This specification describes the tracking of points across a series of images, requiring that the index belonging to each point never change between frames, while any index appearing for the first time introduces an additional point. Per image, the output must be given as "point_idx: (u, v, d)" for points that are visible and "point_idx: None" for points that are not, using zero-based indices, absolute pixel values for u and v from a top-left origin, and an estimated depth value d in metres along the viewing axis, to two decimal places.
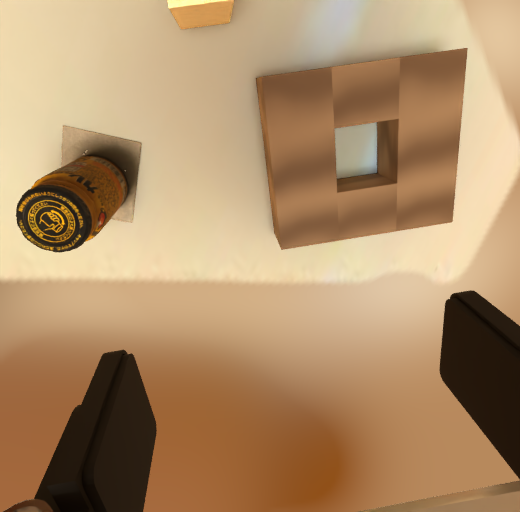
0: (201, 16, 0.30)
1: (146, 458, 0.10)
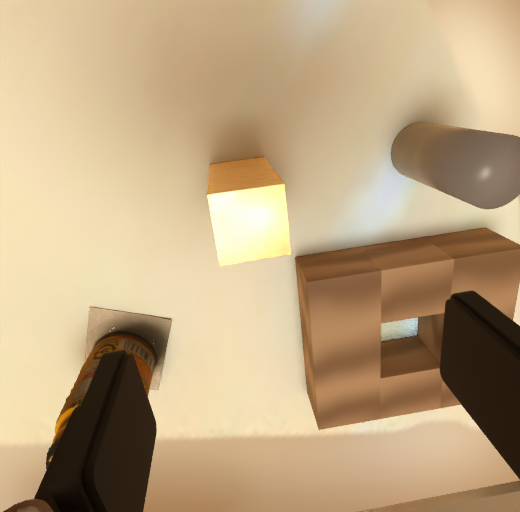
0: None
1: (146, 458, 0.10)
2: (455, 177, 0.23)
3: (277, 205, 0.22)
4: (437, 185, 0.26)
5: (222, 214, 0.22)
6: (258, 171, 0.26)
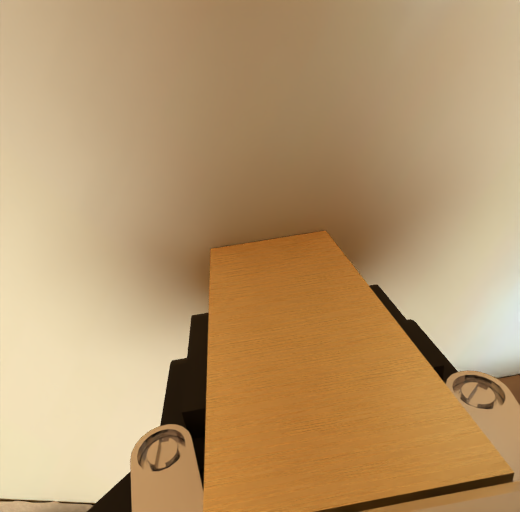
0: None
1: None
2: None
3: None
4: None
5: None
6: (344, 312, 0.09)
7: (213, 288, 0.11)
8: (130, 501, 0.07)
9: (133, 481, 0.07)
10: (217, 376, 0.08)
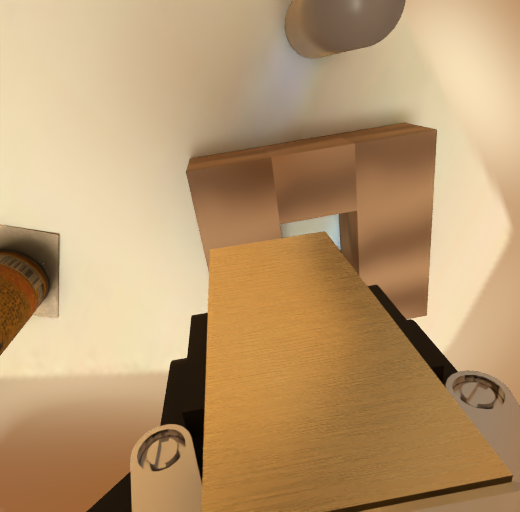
0: None
1: None
2: (317, 8, 0.19)
3: None
4: (313, 37, 0.22)
5: None
6: (343, 313, 0.09)
7: (212, 289, 0.11)
8: (130, 501, 0.07)
9: (133, 481, 0.07)
10: (216, 378, 0.08)
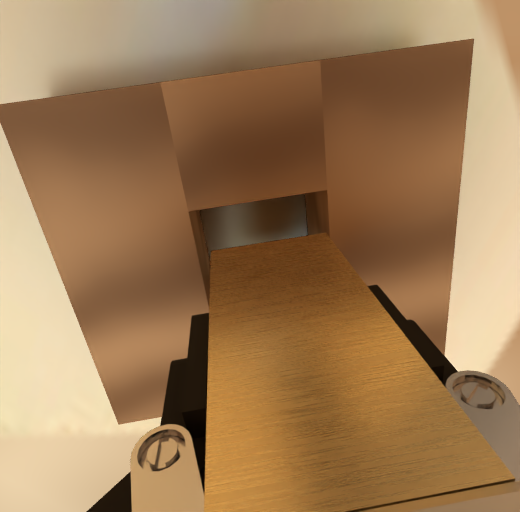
0: None
1: None
2: None
3: None
4: None
5: None
6: (344, 315, 0.09)
7: (213, 291, 0.11)
8: (130, 501, 0.07)
9: (133, 481, 0.07)
10: (218, 380, 0.08)
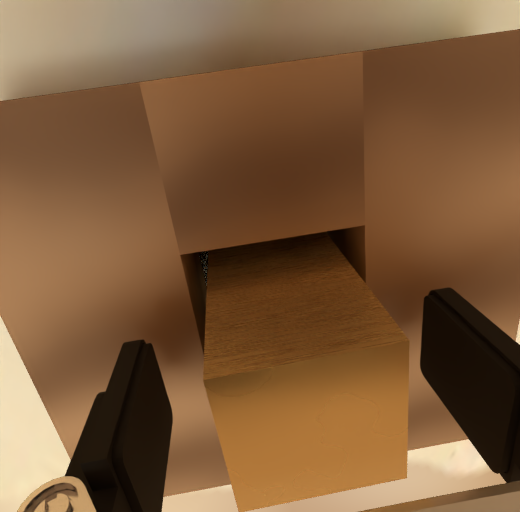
0: None
1: (165, 444, 0.10)
2: None
3: (387, 387, 0.08)
4: None
5: (243, 418, 0.08)
6: (312, 260, 0.12)
7: (211, 250, 0.14)
8: None
9: None
10: (214, 303, 0.11)
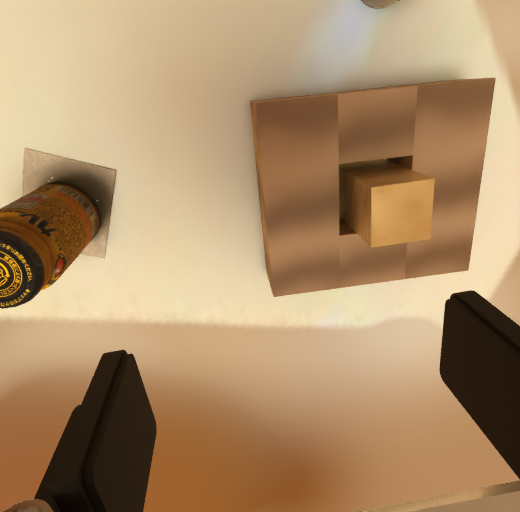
0: None
1: (146, 458, 0.10)
2: None
3: (426, 196, 0.26)
4: None
5: (380, 204, 0.26)
6: (391, 168, 0.30)
7: (341, 168, 0.32)
8: None
9: None
10: (359, 177, 0.28)
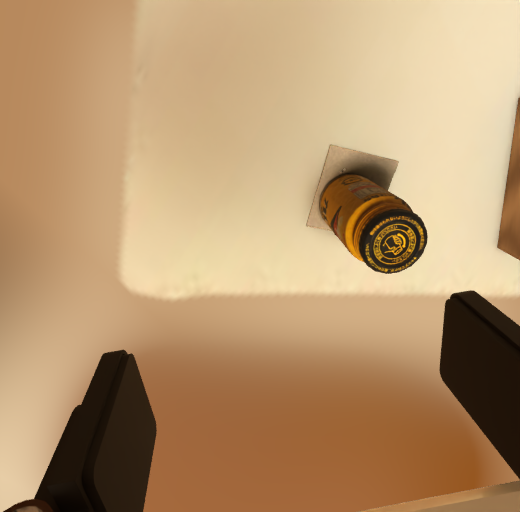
0: None
1: (146, 458, 0.10)
2: None
3: None
4: None
5: None
6: None
7: None
8: None
9: None
10: None
